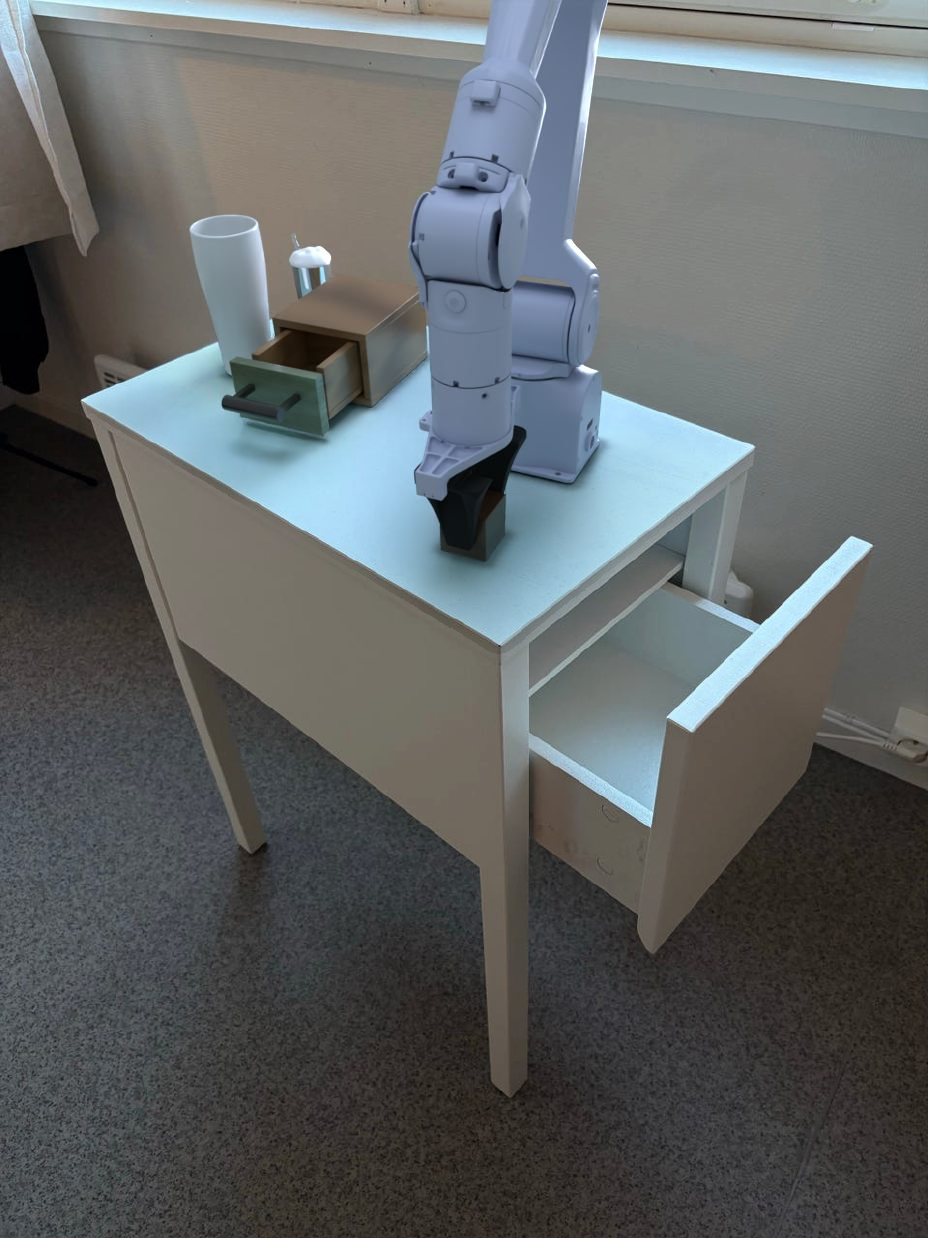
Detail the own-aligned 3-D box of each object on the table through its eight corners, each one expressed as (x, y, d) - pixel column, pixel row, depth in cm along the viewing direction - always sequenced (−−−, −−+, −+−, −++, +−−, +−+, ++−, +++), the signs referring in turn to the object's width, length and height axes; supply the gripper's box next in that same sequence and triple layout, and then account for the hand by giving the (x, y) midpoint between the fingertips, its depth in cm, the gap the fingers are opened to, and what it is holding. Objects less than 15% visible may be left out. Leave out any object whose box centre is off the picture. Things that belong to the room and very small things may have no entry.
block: (505, 534, 75) (506, 493, 72) (485, 562, 72) (485, 520, 70) (461, 523, 76) (460, 482, 74) (440, 550, 74) (438, 508, 71)
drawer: (298, 458, 83) (289, 399, 79) (213, 437, 86) (201, 380, 82) (381, 383, 94) (377, 329, 90) (303, 367, 97) (296, 314, 93)
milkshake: (320, 315, 109) (310, 228, 103) (346, 329, 106) (336, 240, 99) (288, 326, 107) (274, 238, 100) (312, 340, 104) (301, 250, 97)
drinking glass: (206, 368, 99) (175, 224, 89) (260, 349, 102) (235, 209, 92) (239, 390, 95) (210, 242, 85) (294, 369, 98) (272, 225, 89)
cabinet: (372, 407, 92) (365, 334, 87) (282, 388, 95) (271, 317, 90) (428, 356, 100) (425, 287, 95) (344, 340, 104) (337, 273, 99)
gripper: (462, 321, 71) (465, 472, 80) (370, 405, 61) (385, 566, 70) (548, 336, 68) (541, 490, 77) (467, 425, 59) (470, 590, 67)
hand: (473, 528), depth 73 cm, fingers open, 4 cm apart
